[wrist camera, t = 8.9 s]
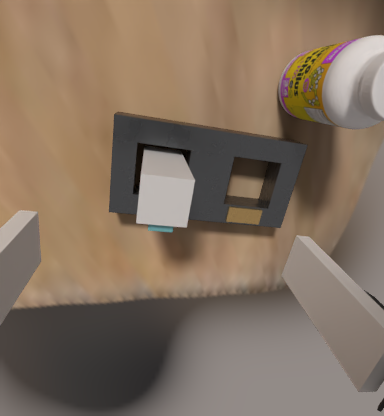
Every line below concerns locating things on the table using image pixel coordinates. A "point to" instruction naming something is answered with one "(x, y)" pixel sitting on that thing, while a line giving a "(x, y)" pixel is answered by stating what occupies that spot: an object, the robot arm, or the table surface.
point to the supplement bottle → (337, 84)
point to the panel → (207, 168)
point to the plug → (164, 189)
